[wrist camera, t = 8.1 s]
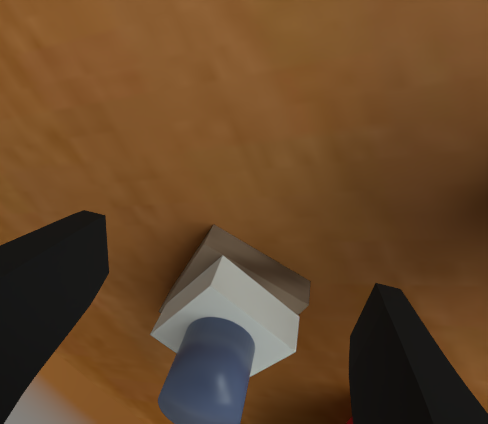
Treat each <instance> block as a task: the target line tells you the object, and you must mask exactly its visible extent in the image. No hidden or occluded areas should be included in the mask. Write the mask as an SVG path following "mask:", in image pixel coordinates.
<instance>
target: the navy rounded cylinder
mask: <svg viewBox="0 0 488 424" xmlns="http://www.w3.org/2000/svg"><path fill="white" fill-rule="evenodd" d="M254 353H255V343H254V341H253V339H252V337H251V335H250V334H249V333H248V332H247V331H246V330H245V329H244V328H243V327H241V326H240V325H238V324H236V323H234V322H232V321H230V320H227V319H223V318H218V317H205V318H200V319H197V320H195V321H194V322H192V323H191V324H190V325H189V326H188V328H187V330H186V333H185V335H184V338H183V340H182V342H181V345H180V347H179V350H178V352H177V354H176V357H175V359H174V362H173V364H172V366H171V369H170V371H169V373H168V376H167V378H166V381H165V383H164V385H163V388H162V390H161V393H160V395H159V398H158V404H159V407H160V409H161V411H162V412H163V414H164V415H165V416H166V417H167V418H168V419H169V420H171V421H172V422H173V423H175V424H240V421H241V416H242V411H243V407H244V402H245V397H246V392H247V387H248V382H249V377H250V373H251V368H252V363H253V358H254Z"/></svg>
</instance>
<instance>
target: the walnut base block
mask: <svg viewBox="0 0 488 424" xmlns="http://www.w3.org/2000/svg"><path fill="white" fill-rule="evenodd" d="M221 256H224V257H226V258H227V259H228V260H229V261H231V262H232V263H233V264H234V265H236V266H237V267H238V268H239V269H241V270H242V271H243V272H244V273H246V274H247V275H248V276H249V277H251V278H252V279H253V280H254V281H256V282H257V283H258V284H259V285H260V286H262V287H263V288H264V289H265V290H267V291H268V292H269V293H270V294H272V295H273V296H274V297H275V298H277V299H278V300H279V301H280V302H282V303H283V304H284V305H285V306H287V307H288V308H289V309H290V310H292V311H293V312H294V313H295V314H296V315H299V314H300V313H301V312H302V311H303V310H304V309H305V308H306V307H307V306H308V305H309V295H310V282H311V281H309V280H307V279H305V278H304V277H302V276H300V275H299V274H297V273H295V272H294V271H292V270H290V269H288V268H287V267H285V266H283V265H282V264H280V263H278V262H277V261H275V260H273V259H272V258H270V257H268V256H266V255H265V254H263V253H261V252H260V251H258V250H256V249H255V248H253V247H251V246H250V245H248V244H246V243H244V242H243V241H241V240H239V239H238V238H236V237H234V236H233V235H231V234H229V233H228V232H226V231H224V230H222V229H221V228H219V227H217V226H216V225H213V226H212V228H211V229H210V231H209V232H208V234H207V235H206V237H205V238H204V240H203V241H202V243H201V244H200V246H199V247H198V249H197V250H196V252H195V253H194V255H193V257H192V258H191V260H190V261H189V263H188V264H187V266H186V267H185V269H184V270H183V272H182V273H181V275H180V276H179V278H178V279H177V281H176V282H175V284H174V285H173V287H172V288H171V290H170V292H169V293H168V295H167V297H166V299H165V301H164V303H163V305H162V306H161V308H160V310H159V312H160V313H162V311H163V309H164V307H165V305H166V304H167V303H168V302H169V301H170V300H171V299H172V298H174V297H175V296H176V295H177V294H178V293H179V292H181V291H182V290H183V289H184V288H185V287H186V286H188V285H189V284H190V283H191V282H192V281H193V280H195V279H196V278H197V277H198V276H199V275H200V274H202V273H203V272H204V271H205V270H206V269H207V268H209V267H210V266H211V265H212V264H213V263H214V262H216V261H217V260H218V259H219V258H220V257H221Z"/></svg>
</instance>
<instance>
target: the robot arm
mask: <svg viewBox="0 0 488 424" xmlns="http://www.w3.org/2000/svg"><path fill="white" fill-rule="evenodd" d="M108 274H109V265H108V249H107V234H106V219H105V215H101V214H97V213H93V212H89V211H85V210H83V211H81V212H78V213H75V214H73V215H70V216H68V217H65V218H63V219H61V220H58V221H56V222H54V223H51V224H49V225H47V226H45V227H42V228H40V229H38V230H35V231H33V232H31V233H28V234H26V235H24V236H22V237H19V238H17V239H15V240H12V241H10V242H8V243H5V244H3V245H0V424H4V422H5V420H6V419H7V418H8V416H9V415H10V413H11V411H12V410H13V408H14V407H15V405H16V403H17V402H18V400H19V399H20V397H21V396H22V394H23V393H24V391H25V390H26V389H27V387H28V386H29V384H30V383H31V382H32V380H33V379H34V377H35V376H36V375H37V373H38V372H39V371H40V370H41V368H42V367H43V366H44V364H45V363H46V361H48V359H49V358H50V357H51V355H52V354H53V353H54V351H55V350H56V349H57V348H58V346H59V345H60V344H61V342H62V341H63V340H64V339H65V337H66V336H67V335H68V333H69V332H70V331H71V330H72V328H73V327H74V326H75V324H76V323H77V322H78V320H79V319H80V318H81V316H82V315H83V314H84V313H85V311H86V310H87V308H88V307H89V306H90V304H91V303H92V301H93V300H94V298H95V296H96V295H97V293H98V291H99V290H100V288H101V286H102V284H103V282H104V281H105V279H106V277H107V275H108ZM349 383H350V395H351V408H352V419H353V424H488V413H487V412H486V411H485V410H484V408H483V407H482V406H481V404H480V403H479V402H478V400H477V399H476V398H475V396H474V395H473V394H472V393H471V391H470V390H469V389H468V387H467V386H466V385H465V383H464V382H463V380H462V379H461V378H460V376H459V375H458V374H457V372H456V371H455V369H454V368H453V367H452V365H451V364H450V362H449V361H448V359H447V358H446V357H445V355H444V354H443V352H442V351H441V349H440V348H439V346H438V345H437V343H436V342H435V340H434V339H433V338H432V336H431V335H430V333H429V331H428V330H427V328H426V327H425V325H424V324H423V322H422V321H421V319H420V318H419V316H418V315H417V313H416V312H415V310H414V309H413V307H412V306H411V304H410V303H409V301H408V299H407V298H406V296H405V295H404V294H403V292H402V291H401V289H398V288H394V287H390V286H386V285H382V284H378V283H375V286H374V288H373V290H372V292H371V294H370V296H369V298H368V300H367V302H366V304H365V306H364V309H363V311H362V313H361V315H360V317H359V319H358V321H357V323H356V325H355V327H354V329H353V332H352V334H351V336H350V353H349Z"/></svg>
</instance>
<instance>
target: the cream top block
mask: <svg viewBox="0 0 488 424" xmlns="http://www.w3.org/2000/svg"><path fill="white" fill-rule="evenodd" d="M205 317H218V318H223V319H227V320H230V321H232V322H234V323H236V324H238V325H240V326H241V327H243V328H244V329H245V330H246V331H247V332H248V333H249V334H250V335H251V337H252V339H253V341H254V343H255V353H254V358H253V363H252V368H251V373H250V377H251V376H253V375H254V374H256V373H258V372H260V371H262V370H264V369H266V368H267V367H269V366H271V365H273V364H275V363H277V362H278V361H280V360H282V359H284V358H286V357H288V356H289V355H291V354H293V353H295V352H296V347H297V337H298V327H299V316H298V315H296V314H295V313H294V312H293V311H292V310H290V309H289V308H288V307H287V306H285V305H284V304H283V303H282V302H280V301H279V300H278V299H277V298H275V297H274V296H273V295H272V294H270V293H269V292H268V291H267V290H265V289H264V288H263V287H262V286H260V285H259V284H258V283H257V282H256V281H254V280H253V279H252V278H251V277H249V276H248V275H247V274H246V273H244V272H243V271H242V270H241V269H239V268H238V267H237V266H236V265H234V264H233V263H232V262H231V261H229V260H228V259H227V258H226V257H224V256H221V257H220V258H219V259H218V260H217V261H216V262H214V263H213V264H212V265H211V266H210V267H209V268H207V269H206V270H205V271H204V272H203V273H202V274H200V275H199V276H198V277H197V278H196V279H195V280H193V281H192V282H191V283H190V284H189V285H188V286H186V287H185V288H184V289H183V290H182V291H181V292H179V293H178V294H177V295H176V296H175V297H174V298H172V299H171V300H170V301H169V302H168V303H167V304H166V305H165V307H164V309H163V311H162V313H161V315H160V317H159V319H158V320H157V322H156V324H155V326H154V328H153V330H152V332H151V334H150V335H151V336H153V337H154V338H156V339H157V340H158V341H160V342H161V343H163V344H164V345H165V346H167V347H168V348H170V349H171V350H173V351H174V352H175V353H177V352H178V350H179V347H180V345H181V342H182V340H183V338H184V335H185V333H186V330H187V328H188V326H189V325H190V324H191V323H192V322H194V321H195V320H197V319H200V318H205Z"/></svg>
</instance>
